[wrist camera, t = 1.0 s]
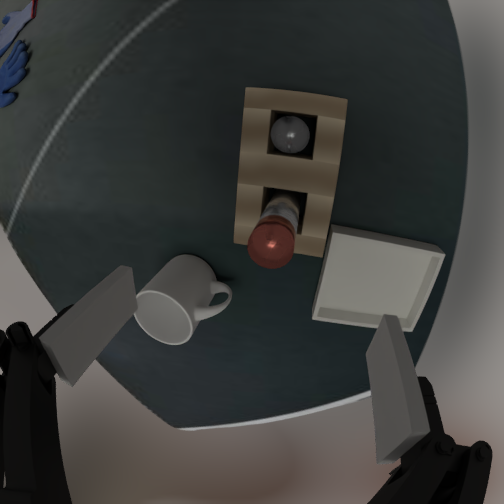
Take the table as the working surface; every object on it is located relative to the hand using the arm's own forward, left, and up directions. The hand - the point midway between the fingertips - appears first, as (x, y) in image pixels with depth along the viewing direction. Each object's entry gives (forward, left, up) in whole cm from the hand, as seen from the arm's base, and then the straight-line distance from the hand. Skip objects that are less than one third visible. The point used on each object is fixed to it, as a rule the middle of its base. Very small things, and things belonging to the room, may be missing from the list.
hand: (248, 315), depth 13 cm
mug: (+14, -11, -23) cm, 29 cm away
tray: (+9, +14, -23) cm, 28 cm away
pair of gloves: (-33, -67, -24) cm, 79 cm away
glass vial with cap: (0, 0, -23) cm, 23 cm away
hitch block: (-4, 0, -23) cm, 23 cm away
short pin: (-8, 0, -23) cm, 24 cm away
